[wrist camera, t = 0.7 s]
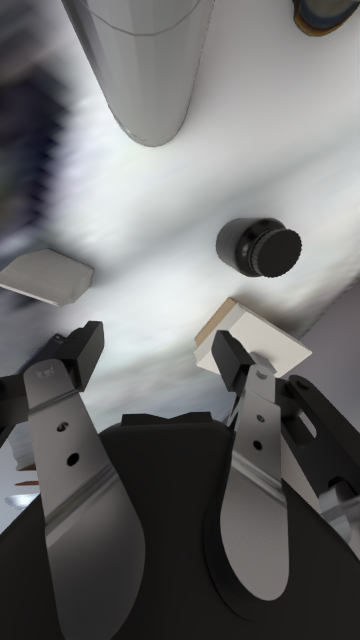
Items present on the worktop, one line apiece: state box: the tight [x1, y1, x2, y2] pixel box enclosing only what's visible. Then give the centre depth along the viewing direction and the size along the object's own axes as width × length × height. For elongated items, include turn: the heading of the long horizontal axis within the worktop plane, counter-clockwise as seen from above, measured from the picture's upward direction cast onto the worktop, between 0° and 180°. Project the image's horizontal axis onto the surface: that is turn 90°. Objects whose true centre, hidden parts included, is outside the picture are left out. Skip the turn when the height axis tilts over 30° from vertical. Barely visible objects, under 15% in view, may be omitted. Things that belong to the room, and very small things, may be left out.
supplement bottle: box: [216, 218, 302, 278], centre depth 22 cm, size 7×7×12 cm
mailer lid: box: [193, 302, 312, 378], centre depth 31 cm, size 14×20×6 cm
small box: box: [13, 334, 65, 375], centre depth 31 cm, size 11×6×10 cm, turn 129°
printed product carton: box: [0, 249, 94, 307], centre depth 22 cm, size 4×7×10 cm, turn 61°
